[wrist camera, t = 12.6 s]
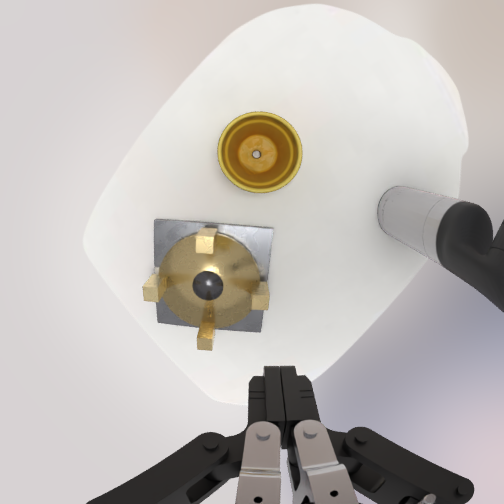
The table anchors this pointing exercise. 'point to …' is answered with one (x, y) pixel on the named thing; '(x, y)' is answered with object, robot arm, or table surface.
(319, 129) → the table surface
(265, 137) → the plant pot
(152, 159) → the table surface
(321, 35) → the table surface
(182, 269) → the pegged brass disc
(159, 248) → the flange plate
